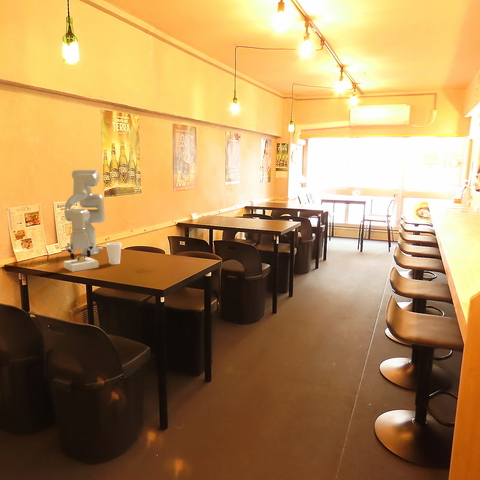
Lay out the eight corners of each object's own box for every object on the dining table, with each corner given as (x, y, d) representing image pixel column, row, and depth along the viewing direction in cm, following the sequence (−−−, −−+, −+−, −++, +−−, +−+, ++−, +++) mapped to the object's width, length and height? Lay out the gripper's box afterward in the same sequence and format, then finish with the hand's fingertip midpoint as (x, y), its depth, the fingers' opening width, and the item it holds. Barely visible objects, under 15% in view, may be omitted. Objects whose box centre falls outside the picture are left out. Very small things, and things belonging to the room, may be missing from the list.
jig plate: (89, 263, 261) (89, 257, 261) (98, 267, 251) (98, 261, 251) (64, 267, 251) (63, 261, 250) (72, 271, 241) (72, 265, 240)
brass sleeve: (83, 266, 254) (83, 255, 253) (86, 267, 251) (85, 256, 250) (76, 267, 251) (75, 256, 250) (79, 268, 248) (78, 257, 247)
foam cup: (125, 262, 264) (124, 243, 261) (115, 265, 255) (114, 245, 253) (114, 261, 268) (113, 241, 265) (103, 264, 259) (102, 244, 257)
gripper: (90, 228, 255) (92, 255, 259) (62, 231, 244) (64, 259, 247) (95, 230, 250) (97, 257, 253) (66, 233, 238) (68, 261, 242)
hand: (80, 258), depth 250 cm, fingers open, 9 cm apart
